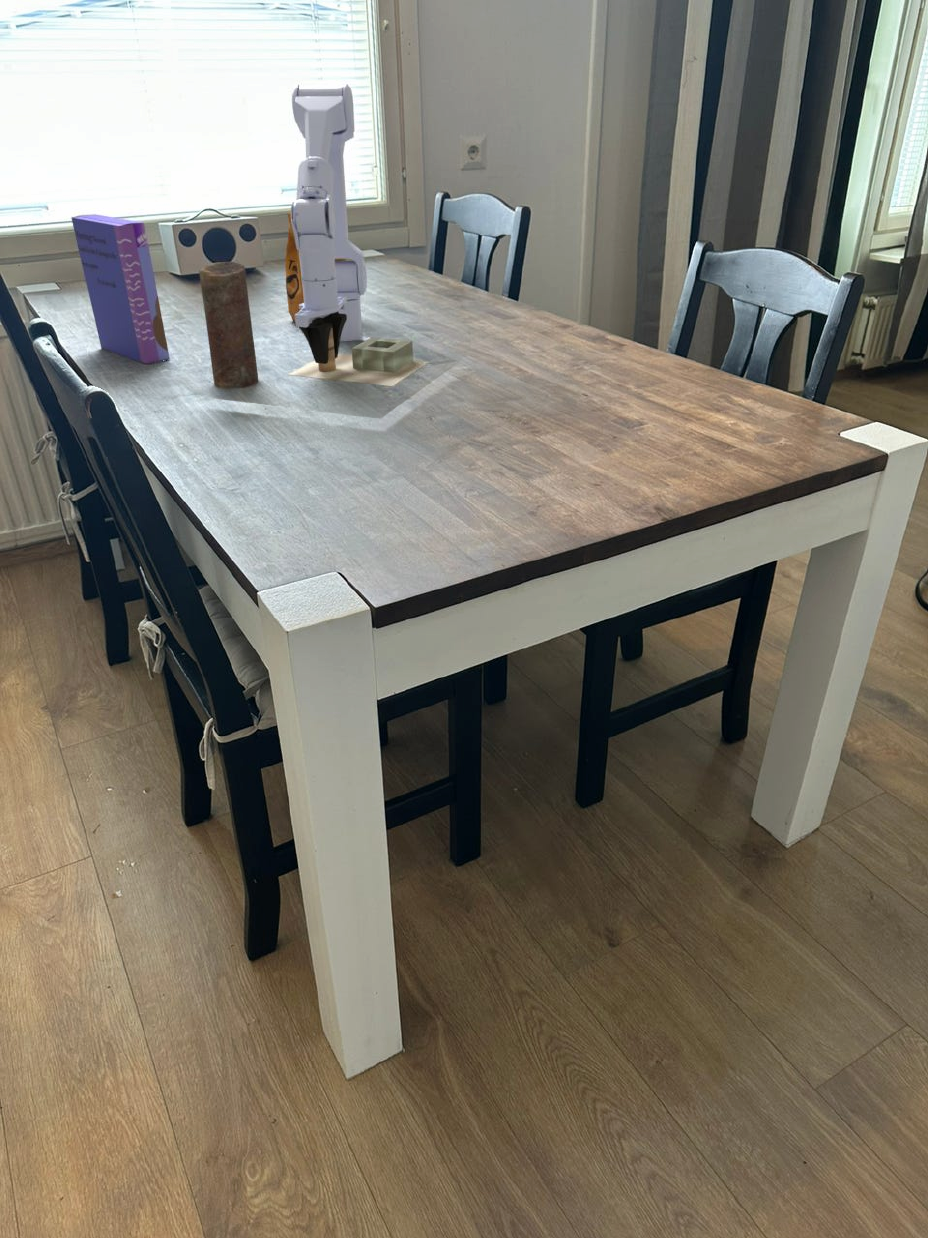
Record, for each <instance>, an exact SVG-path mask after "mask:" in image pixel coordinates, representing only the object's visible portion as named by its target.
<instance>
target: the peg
mask: <svg viewBox="0 0 928 1238" xmlns="http://www.w3.org/2000/svg"><path fill="white" fill-rule="evenodd" d="M318 366H319V371H322V372H331V371H334V370H336V362H335V351H334V340H333V329H332V327H331V331H330V335H329V343H328V363H326V364H321V363H318Z"/></svg>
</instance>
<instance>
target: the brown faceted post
mask: <svg viewBox="0 0 928 1238" xmlns="http://www.w3.org/2000/svg"><path fill="white" fill-rule="evenodd" d="M198 273H199V281H200V287H201V288H200V289H201V296H202V303H203V311H204V315H205V317H204V318H205V325H206V330H207V332H206V333H207V337H208V338H207V340H208V345H209V354H210V362H211V369H212V377H213V379H212V380H213V384H214V386H215V387H217V388H220V389H229V390H230V389H244V388H249V387H251V386H254V385H256V384H257V383H258V382H259V374H258V373H259V372H258V364H257V357H256V349H255V348H256V347H255V341H254V334H253V325H252V318H251V317H252V316H251V309H250V303H249V302H250V301H249V292H248V283H247V275H246V267H245V266H244V265H243V264H242V263H240V262H236V261H235V262H234V261H222V262H220V261H217V262H214V263H210V264H209V265H205V266H203V267H202V268H201V269H199V270H198Z"/></svg>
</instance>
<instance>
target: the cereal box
mask: <svg viewBox="0 0 928 1238" xmlns="http://www.w3.org/2000/svg"><path fill="white" fill-rule="evenodd" d="M71 222H72V226H73V232H74V236H75V239H76V240H75V241H76V244H77V249H78V251H79V252H78V253H79V257H80V262H81V265H82V269H83V271H82V272H83V274H84V279H85V283H86V286H87V287H86V288H87V293H88V297H89V300H90V301H89V302H90V305H91V310H92V314H93V317H94V322H95V327H96V330H97V336H98V340H99V344H100V348H101V350H103V351H107V352H110V353H113V354H115V355H119V356H121V357H124V358H127V359H129V360H133V361H134V362H135V361H136V362H138V363H140V364H143V365H146V366H148V364H149V365H153V364H156V363H155V362H157V363H159V362H158V361H162V362H164V361H163V360H166V359H170V352H169V349H168V343H167V342H168V341H167V337H166V332H165V326H164V322H163V318H162V317H163V315H162V312H161V304H160V300H159V295H158V289H157V285H156V279H155V274H154V269H153V262H152V259H151V258H152V257H151V252H150V247H149V242H148V238H147V237H148V236H147V232H146V225H145V223H144V221H143V222H141V221H135V220H130V219H123V218H119V217H118V218H117V217H113V216H108V215H102V214H93V213H92V214H80V215H76V216H72V217H71ZM166 361H167V360H166ZM152 363H153V364H152Z"/></svg>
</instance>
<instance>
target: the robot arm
mask: <svg viewBox="0 0 928 1238" xmlns="http://www.w3.org/2000/svg"><path fill="white" fill-rule="evenodd" d="M291 106H292V114H293V119H294V121H295V124H296V125H297V128H298V129H299V132H300V134H301V135H302V137H303V139H304V140H305V158H304V159H303V160H302V161H301V162H300V164H299V165H298V170H297V172H298V173H297V176H298V177H297V184H296V185H297V187H296V199H295V200H296V201H295V202H294V201H293V202H292V203H291V205H290V213H291V223H292V228H293V232H294V236H295V242H296V248H297V249H298V250H299V259H300V268H301V278H302V287H303V296H304V303H302V304H300V305H299V309H301V310H300V311H299V312H298V313H297V314H295V322H294V323H295V327H298V329H299V330H300V331H301V332H302V334H303V336H304V337H305V339H306V341H307V343H308V345H309V348H310V350H311V353H312V356H313V361H314V360H315V362H316V363H321V364H326V363H328V343H329V335H330V331H331V327H332V329H333V340H334V351H335V358H337V357H338V353H339V352H340V350H339V349H340V342H351V341H363V342H364V341H366V340H368V339H370V338H371V337H370V336H363V322H362V309H361V308H362V307H361V296H365V295H364V294H365V293H366V292H367V288H368V286H367V285H368V284H367V279H368V277H367V269H366V267H367V266H366V263H365V255H364V252H363V251H362V250H361V249H360V248H359V247H358V246H357V245H355V244H354V243H352V241H350V239H349V227H348V226H349V224H348V210H347V209H348V208H347V195H346V181H345V180H346V179H345V177H346V176H345V165H344V164H345V161H344V151H345V145H346V142H347V141H350V140H351V139H353V138H354V137H355V136H354V132H355V116H354V114H355V113H354V112H355V111H354V97H353V91H352V89H351V87H350V86H349V84H347V83H344V84H338V85H337V84H331V85H328V84H327V85H325V84H323V85H320V84H318V85H313V84H311V85H300V84H295V85H294V87H293V88H292V91H291ZM341 258H346V259H348V260H346V261H335V259H341Z"/></svg>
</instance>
